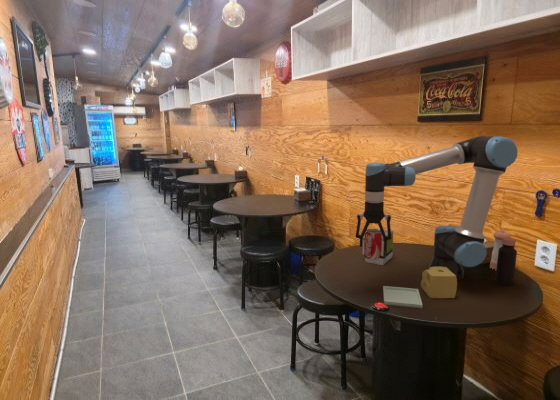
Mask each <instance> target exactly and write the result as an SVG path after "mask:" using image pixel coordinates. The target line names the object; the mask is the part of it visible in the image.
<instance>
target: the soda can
mask: <svg viewBox="0 0 560 400" xmlns="http://www.w3.org/2000/svg"><path fill="white" fill-rule="evenodd" d="M377 229H378V228H367V230H366V233H365V235H364V238H365V242H364V255H363V256H364V258H365V257H366V258H367V259H369V260H377V259H379V258H380V256H381V246H382V234H381V231H380V230H377Z"/></svg>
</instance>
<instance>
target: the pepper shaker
mask: <svg viewBox="0 0 560 400" xmlns="http://www.w3.org/2000/svg"><path fill="white" fill-rule="evenodd" d="M493 238H494V244H493V249H492V252H491V260H490V264H489V268H490V269H491V268H492V270H493V269H495V270H494V271H496V269H497V260H498V251H499V248H500V247H502V238H512V236H511V234H510V233H509V232H506V231H505V230H499V231H496V232H494V233H493Z"/></svg>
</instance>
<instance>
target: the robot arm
mask: <svg viewBox="0 0 560 400" xmlns="http://www.w3.org/2000/svg"><path fill="white" fill-rule="evenodd" d="M518 151H519V150H518V147H517V145H516V143H515V141H513V140H512V139H511V138H509V137H504V136H501V135H500V136H499V135H497V136H496V135H493V136H490V135H479V136H476V137H472V138H468V139H465V140H462V141H460V142H455V143H453V145H452V146H450V147H446V148H442V149H438V150H436V151H432V152H428V153H425V154H424V153H423V154H420V155H418V156H414V157H410V158H407V159H402V160H400V161H395V162H392V163H383V162H370V163H367V164H366V166H365V174H364V175H365V185H364V186H365V188H364V189H365V191H364V200H365V201H364V212H363V213H357V215H356V218H357V224H356V231H355V239H359V247H360V248H361V247H362V248H361V249H362V253H361V255H362V256H364V242H365V233H366V232H367V230H368V229H369V226H370V224H376V225H378V229H380V231H381V234H382V236H383V239H382V246H381V256H383V249H384V248H386V244H387V240H390V239H391V231H392V229H391V220H392V216H391V214H386V213H384V206H385V205H384V204H385V202H384V200H385V187H409V186H410V187H411V186H413V185H414V184H415V182H416V178H417V177H416V175H418V174H422V173H426V172H429V171H432V170H433V171H434V170H436V169H437V170H438V169H441V168H445V167H448V166H451V165H455V164H457V165H460V166H461V165H464V164H473V166H472V168H473V169H474V171H475V174H474V176H473V180H472V185H471V186H470V191H469V194H468V197H467V200H466V204H465V207H464V211H463V214H462V218H461V222H460V225H458V226H456V225H439V226H436V227H435V229H434V230H435V231H434V234H433V235H434V240H433V254H432V255H433V256H432V258H431V261H430V263H429V265H428V266H427V267H428V268H427V270H429V268H430V267H447V268H448V269H449V270H450V271H451V272H452V273H453V274H455V275H456V278H457V281H458V280H462V279H463V278H464V276H465V275H464V274H465V271H464V268H463V267H465V268H472V267H477V266H479V265H480V264H482V263H483V262H484V261H485V259H486V258H487V257H486V256H487V255H488V254H487V253H488V252H487V248H486V246H485V245H484V242H485V238H486V237H485V235H484V234H483V231H484V228H485V225H486V222H487V218H488V215H489V212H490V207H491V205H492V201H493V199H494V195H495V193H496V192H495V191H496V188H497V186H498V182H499V179H500V176H502V175H504V174H506V170H507V169H508V167H510V166H511V165H512V164H514V163H515V162H516V160H517V158H518V153H519V152H518ZM363 218H364V219H365V220H366V222H365V224H364V226H363V229H362V231H361V233H360V229H361V222H362V220H363ZM383 219H385V221H386V228H387V229H386V230H387V231H388V236H386V235H385V232H384V230H385V229H384V227H383V224H382V220H383ZM461 278H462V279H461Z"/></svg>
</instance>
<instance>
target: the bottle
mask: <svg viewBox="0 0 560 400" xmlns="http://www.w3.org/2000/svg"><path fill="white" fill-rule="evenodd" d="M516 241H517V240H516V239H515V238H512V237H511V238H502V247H500V248H499V251H498V260H497V269H496V270H495V278H494V279H495V280H494V281H495V282H496V283H498V284H499V285H502V286H512V285H514V281H515V272H516V271H515V270H516V265H517V263H516V262H517V254H518V251H517V250H516V248H515V246H516Z"/></svg>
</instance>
